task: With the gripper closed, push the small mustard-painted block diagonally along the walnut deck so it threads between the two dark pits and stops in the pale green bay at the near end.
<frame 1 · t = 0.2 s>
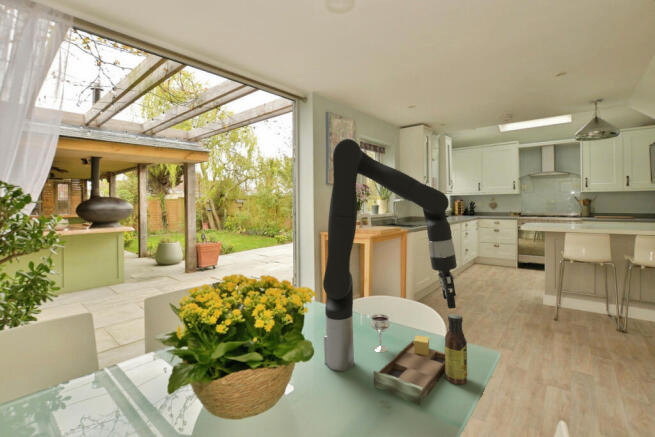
hand: (449, 303, 98), 22 cm above the table, tool pointing down, fingers open, 8 cm apart
wineglass: (380, 349, 114), on the table
sauce bottle: (456, 379, 94), on the table
trap deck: (415, 372, 98), on the table
mustard block: (421, 351, 107), point 2 cm above the table, touching trap deck
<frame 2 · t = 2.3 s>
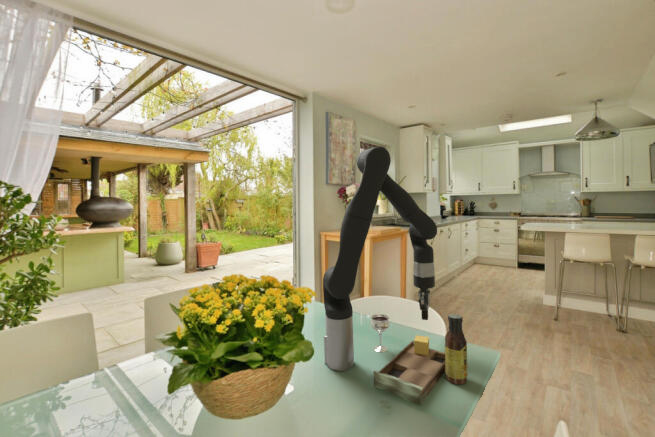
hand: (424, 319, 114), 11 cm above the table, tool pointing down, fingers closed
nothing on the table moved.
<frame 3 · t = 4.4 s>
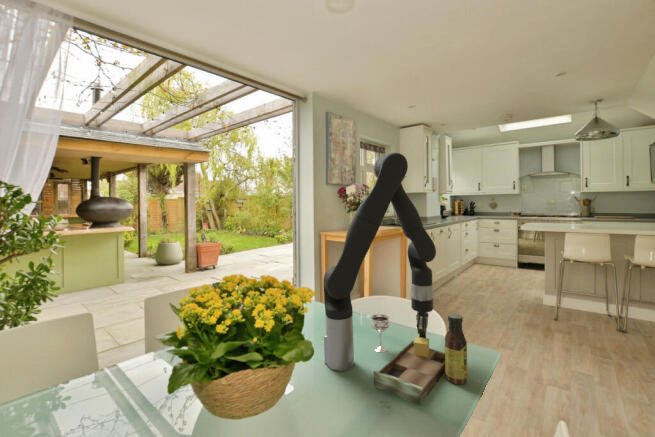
hand: (422, 342, 110), 4 cm above the table, tool pointing down, fingers closed
mustard block: (421, 353, 106), point 2 cm above the table, touching gripper
everything else where it was.
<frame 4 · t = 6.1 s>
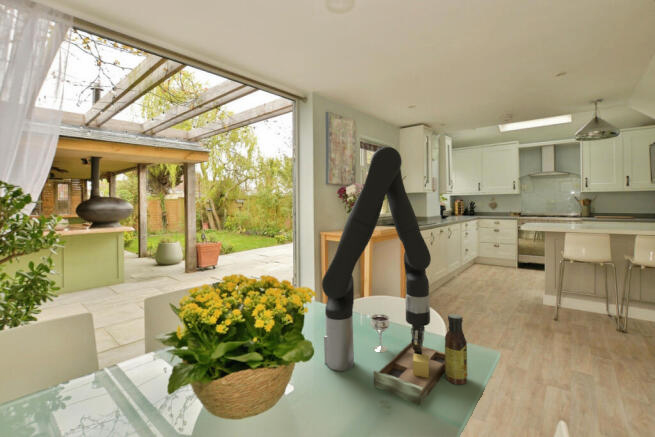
hand: (418, 359, 99), 4 cm above the table, tool pointing down, fingers closed
mustard block: (421, 372, 95), point 2 cm above the table, touching gripper, trap deck
everything else where it was.
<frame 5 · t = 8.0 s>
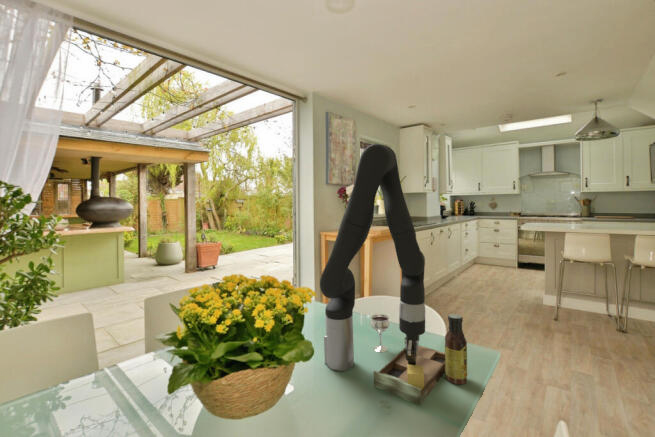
hand: (411, 370, 93), 4 cm above the table, tool pointing down, fingers closed
mustard block: (415, 384, 89), point 2 cm above the table, touching gripper, trap deck
everything else where it was.
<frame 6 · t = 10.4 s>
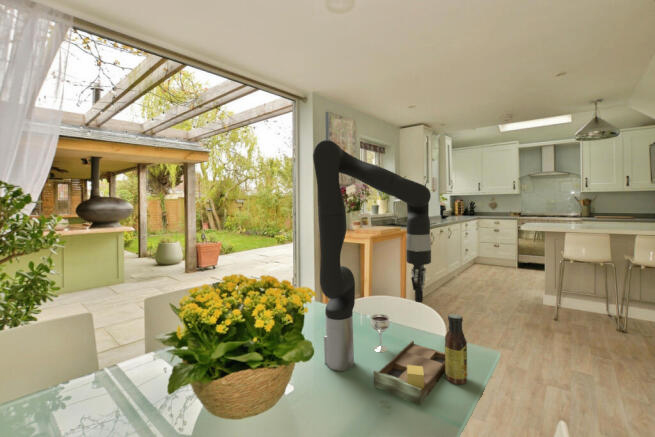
hand: (419, 301, 97), 23 cm above the table, tool pointing down, fingers closed
mustard block: (415, 384, 88), point 2 cm above the table, touching trap deck
everything else where it was.
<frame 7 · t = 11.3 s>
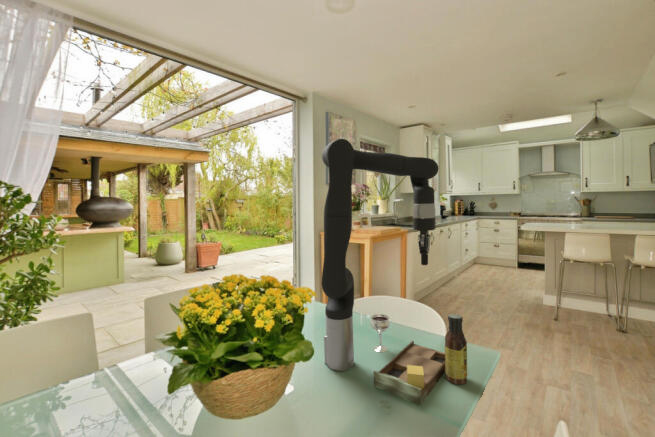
hand: (424, 264, 109), 32 cm above the table, tool pointing down, fingers closed
nothing on the table moved.
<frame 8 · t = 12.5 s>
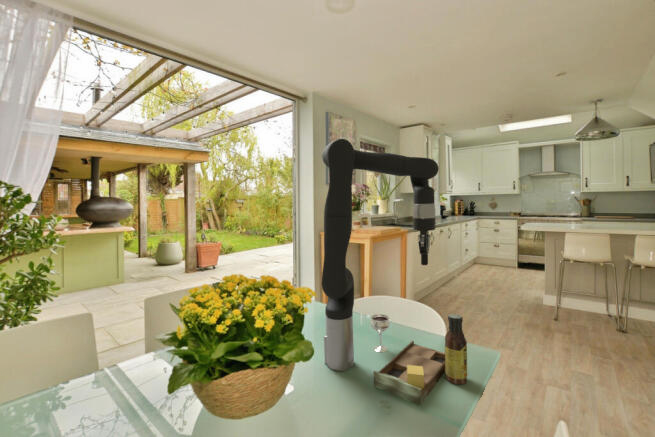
hand: (424, 264, 109), 32 cm above the table, tool pointing down, fingers closed
nothing on the table moved.
at the end: mustard block inside the target area (0.6 cm from its centre), point 2.0 cm above the table; mustard block tilted 0° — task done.
